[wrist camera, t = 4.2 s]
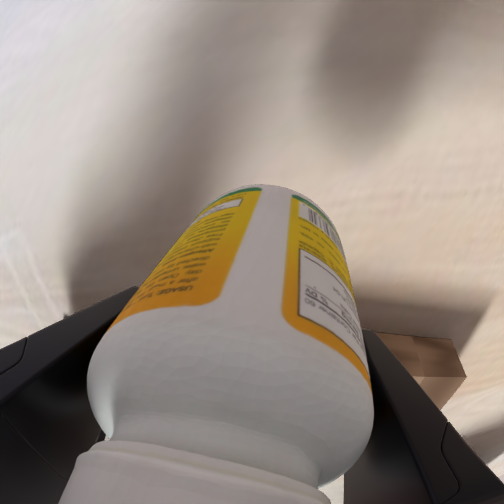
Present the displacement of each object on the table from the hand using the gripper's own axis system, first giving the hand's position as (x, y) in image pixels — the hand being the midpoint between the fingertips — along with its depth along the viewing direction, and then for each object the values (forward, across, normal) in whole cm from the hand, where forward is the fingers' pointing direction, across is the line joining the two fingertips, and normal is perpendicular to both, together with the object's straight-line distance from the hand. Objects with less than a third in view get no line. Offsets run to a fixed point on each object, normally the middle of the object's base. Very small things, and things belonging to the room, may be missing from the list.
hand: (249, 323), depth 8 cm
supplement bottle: (+4, 0, 0) cm, 4 cm away
